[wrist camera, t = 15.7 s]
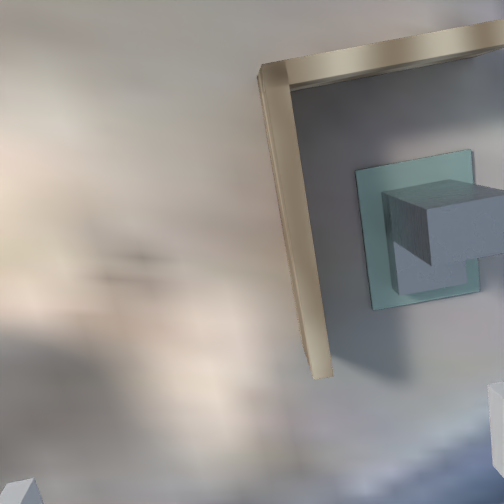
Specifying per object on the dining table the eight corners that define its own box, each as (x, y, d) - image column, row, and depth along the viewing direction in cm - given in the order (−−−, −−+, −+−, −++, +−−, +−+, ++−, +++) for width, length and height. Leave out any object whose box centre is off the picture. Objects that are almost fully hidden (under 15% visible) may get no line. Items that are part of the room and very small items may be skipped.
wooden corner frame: (301, 342, 44) (313, 380, 38) (257, 76, 38) (261, 64, 32) (490, 308, 44) (536, 339, 37) (474, 35, 38) (525, 14, 32)
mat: (372, 309, 44) (373, 310, 43) (355, 170, 41) (355, 170, 40) (478, 290, 44) (480, 291, 43) (469, 149, 41) (471, 149, 40)
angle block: (380, 191, 41) (426, 209, 31) (448, 179, 41) (515, 192, 31) (392, 288, 43) (438, 333, 33) (456, 276, 43) (521, 317, 33)
